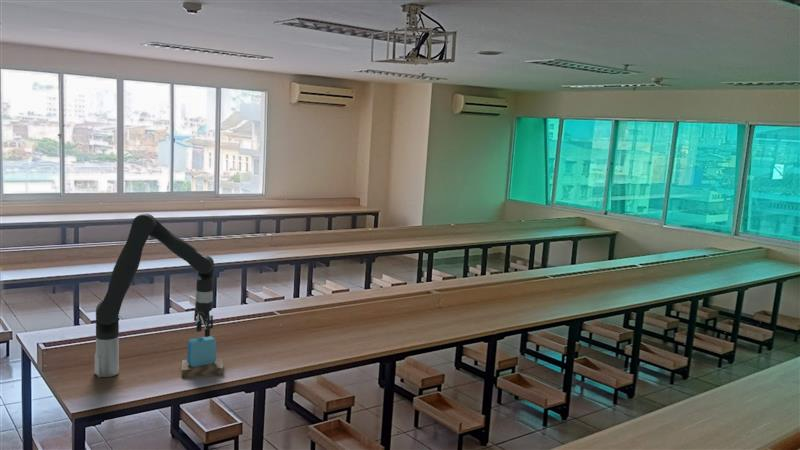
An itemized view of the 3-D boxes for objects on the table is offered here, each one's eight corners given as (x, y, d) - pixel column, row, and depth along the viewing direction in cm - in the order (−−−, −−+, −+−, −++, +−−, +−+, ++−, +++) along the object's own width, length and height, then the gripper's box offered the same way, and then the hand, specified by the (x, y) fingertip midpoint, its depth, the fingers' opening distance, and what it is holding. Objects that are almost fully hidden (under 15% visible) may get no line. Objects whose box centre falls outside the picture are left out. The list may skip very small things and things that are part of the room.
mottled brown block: (181, 378, 292) (181, 369, 291) (182, 368, 303) (182, 360, 303) (222, 376, 297) (223, 368, 297) (221, 366, 309) (222, 358, 308)
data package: (212, 359, 305) (212, 335, 303) (215, 363, 302) (216, 338, 300) (187, 364, 298) (187, 339, 296) (190, 367, 294) (191, 342, 292)
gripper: (189, 297, 298) (188, 330, 300) (203, 304, 287) (202, 339, 290) (204, 295, 303) (203, 328, 305) (218, 302, 292) (217, 337, 295)
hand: (203, 333), depth 297 cm, fingers open, 8 cm apart
